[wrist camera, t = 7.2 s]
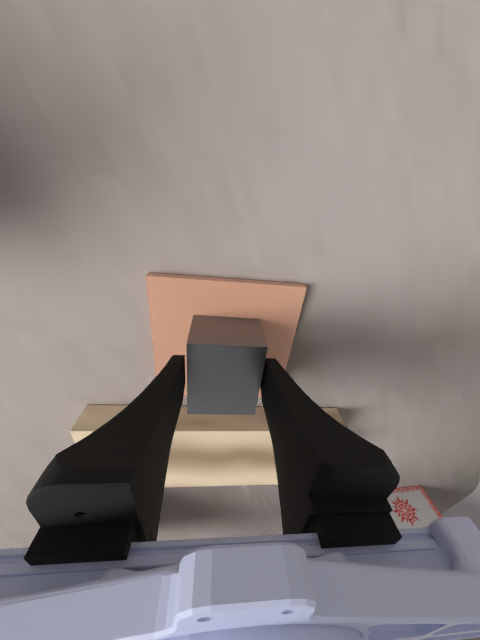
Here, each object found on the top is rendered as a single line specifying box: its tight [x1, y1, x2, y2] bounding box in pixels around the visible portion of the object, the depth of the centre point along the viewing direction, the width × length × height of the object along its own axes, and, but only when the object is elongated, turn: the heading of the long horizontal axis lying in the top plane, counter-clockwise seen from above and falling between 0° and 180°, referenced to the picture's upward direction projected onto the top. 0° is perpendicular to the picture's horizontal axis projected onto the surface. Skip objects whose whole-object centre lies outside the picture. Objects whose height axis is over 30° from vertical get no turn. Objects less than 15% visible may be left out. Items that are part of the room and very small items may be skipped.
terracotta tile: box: [146, 273, 307, 397], centre depth 15 cm, size 9×9×1 cm
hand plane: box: [70, 405, 347, 487], centre depth 18 cm, size 8×20×4 cm, turn 84°
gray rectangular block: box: [186, 315, 268, 415], centre depth 14 cm, size 5×4×3 cm
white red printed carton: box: [387, 486, 442, 529], centre depth 24 cm, size 4×7×10 cm, turn 93°
